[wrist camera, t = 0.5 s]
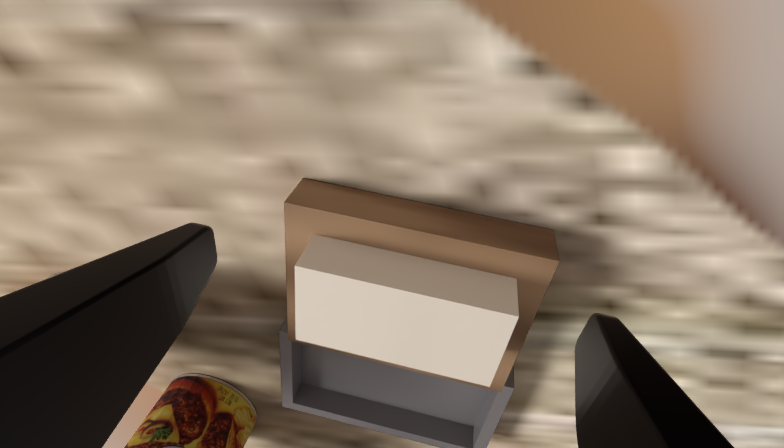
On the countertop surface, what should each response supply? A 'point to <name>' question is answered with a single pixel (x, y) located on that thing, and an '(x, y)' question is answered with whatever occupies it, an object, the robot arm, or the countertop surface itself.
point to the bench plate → (423, 247)
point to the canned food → (197, 416)
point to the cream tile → (404, 309)
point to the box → (388, 397)
